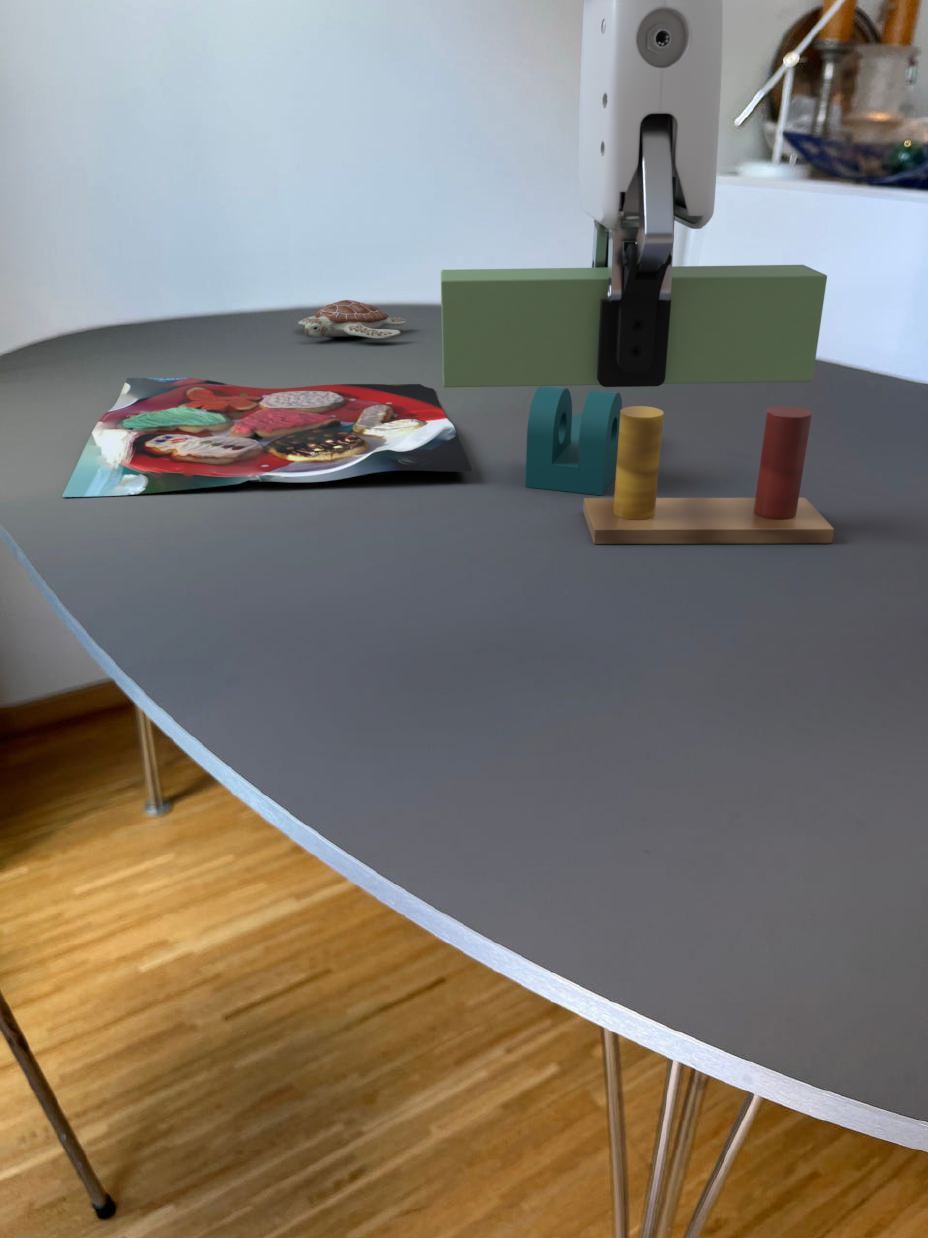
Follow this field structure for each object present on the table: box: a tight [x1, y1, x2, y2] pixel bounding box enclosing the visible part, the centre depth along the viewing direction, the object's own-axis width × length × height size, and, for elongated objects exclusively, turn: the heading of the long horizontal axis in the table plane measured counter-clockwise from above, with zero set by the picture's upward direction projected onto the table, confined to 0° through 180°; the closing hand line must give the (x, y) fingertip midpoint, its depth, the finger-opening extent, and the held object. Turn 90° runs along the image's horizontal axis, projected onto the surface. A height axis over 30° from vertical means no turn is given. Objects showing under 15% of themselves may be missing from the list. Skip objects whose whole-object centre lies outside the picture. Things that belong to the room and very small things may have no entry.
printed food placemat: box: [61, 376, 473, 498], centre depth 103 cm, size 35×35×2 cm
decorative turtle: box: [297, 299, 407, 340], centre depth 147 cm, size 18×17×5 cm
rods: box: [582, 405, 835, 545], centre depth 79 cm, size 18×7×9 cm, turn 91°
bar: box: [440, 264, 828, 388], centre depth 50 cm, size 18×4×5 cm, turn 91°
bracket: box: [525, 386, 623, 496], centre depth 94 cm, size 18×7×8 cm, turn 161°
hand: (623, 370), depth 51 cm, fingers closed on bar, 3 cm apart
